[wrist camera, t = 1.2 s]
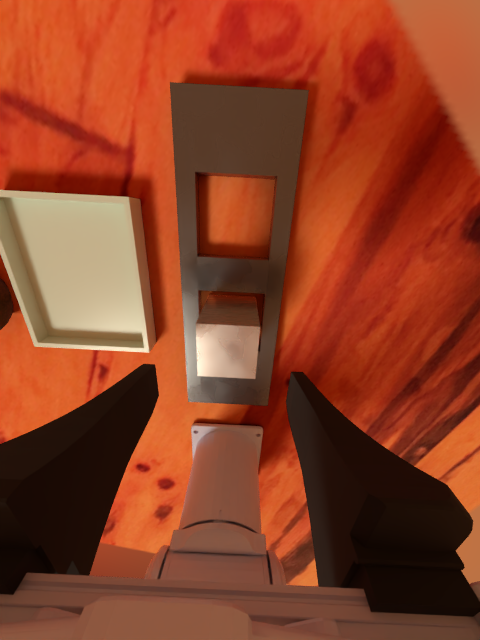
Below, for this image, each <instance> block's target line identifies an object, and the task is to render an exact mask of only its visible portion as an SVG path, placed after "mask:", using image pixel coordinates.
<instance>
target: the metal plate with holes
mask: <svg viewBox="0 0 480 640" xmlns="http://www.w3.org/2000/svg"><path fill="white" fill-rule="evenodd" d="M170 92H171V109H172V127H173V144H174V162H175V179H176V197H177V214H178V232H179V249H180V267H181V284H182V302H183V319H184V337H185V354H186V371H187V389H188V402H204V403H224V404H243V405H263V406H268V399H269V391H270V384H271V376H272V368H273V361H274V353H275V345H276V338H277V330H278V322H279V315H280V307H281V299H282V292H283V284H284V276H285V269H286V261H287V253H288V246H289V238H290V230H291V223H292V215H293V207H294V200H295V192H296V184H297V177H298V169H299V161H300V154H301V146H302V138H303V131H304V123H305V115H306V108H307V100H308V92H309V90H296V89H278V88H261V87H243V86H225V85H207V84H189V83H171V82H170ZM198 175H208V176H227V177H245V178H263V179H275V187H274V198H273V208H272V218H271V229H270V239H269V249H268V258H260V257H241V256H222V255H203V254H200V228H199V182H198ZM201 290H205V291H224V292H243V293H262V294H264V301H263V311H262V322H261V332H260V342H259V345H258V356H257V366H256V377H255V379H247V378H227V377H207V376H197V349H196V322H197V320H198V317H199V315H200V313H201Z"/></svg>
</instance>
